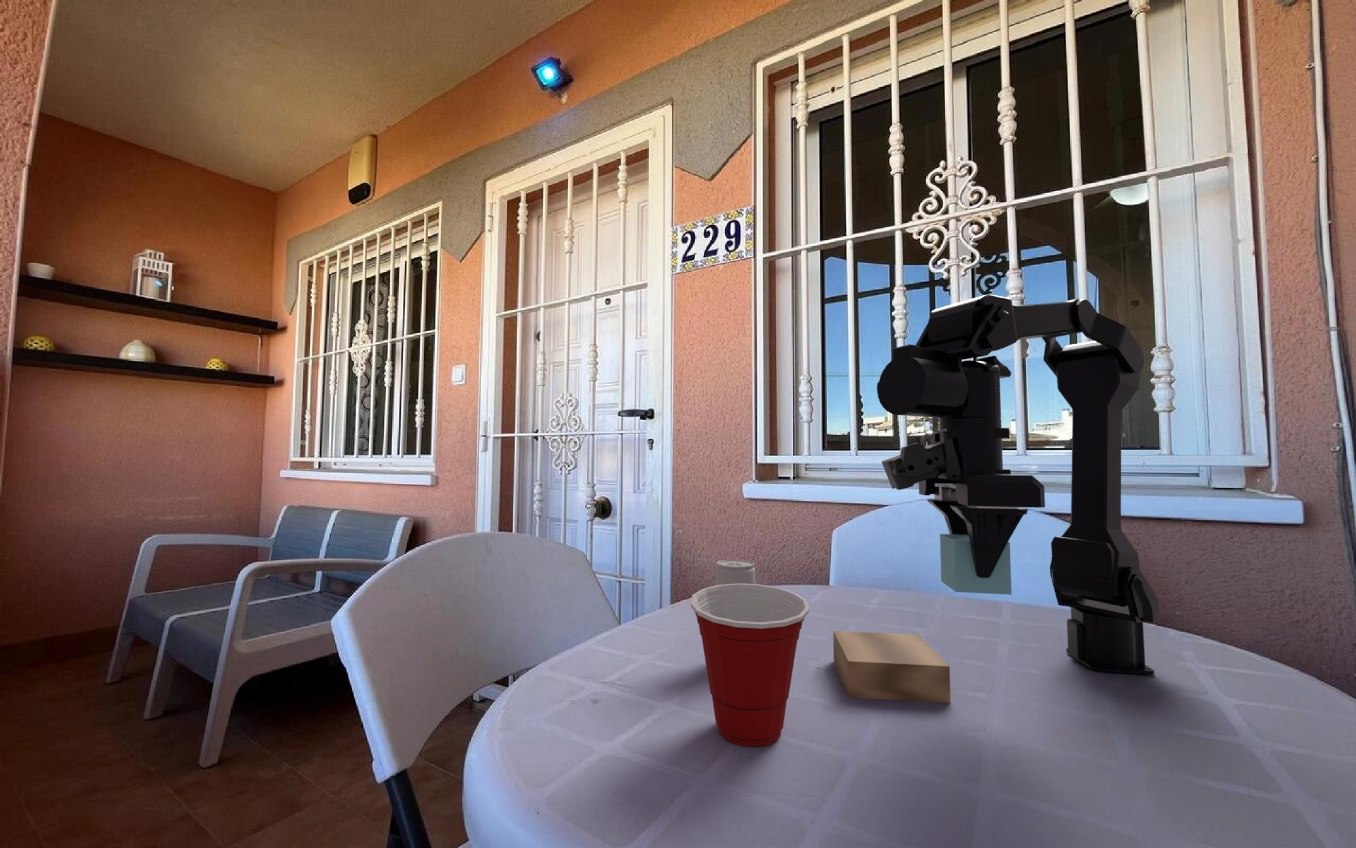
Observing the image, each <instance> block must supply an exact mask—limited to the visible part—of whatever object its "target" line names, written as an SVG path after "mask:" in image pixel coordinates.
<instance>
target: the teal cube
mask: <svg viewBox="0 0 1356 848" xmlns="http://www.w3.org/2000/svg"><path fill="white" fill-rule="evenodd" d="M939 545H940V547H939V548H940V549H939V551H940V553H939V554H940V580H941V583H942V584H944V585H945V586H947V587H948V588H950V589H951V590H952V591H954V593H955V592H956V593H971V594H988V595H989V594H991V595H1011V596H1012V574H1011V573H1012V572H1011V571H1012V569H1011V568H1012V567H1011V565H1012V564H1011V546H1010V545H1011V542H1010V541H1008V543H1007V545H1006V547H1005V549H1004V551H1003V553H1002V555H1001V557H1000V559H999V561H998V562H997V564H996V566H995V568H994V570H993V572H992V574H991V576H990V577H989V578H980V577H978V576H977V575H976V571H975V566H974V562H973V556H972V551H971V546H970V540H969V535H959V534H950V533H940V534H939Z"/></svg>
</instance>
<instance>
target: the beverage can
mask: <svg viewBox="0 0 1356 848" xmlns="http://www.w3.org/2000/svg"><path fill="white" fill-rule="evenodd" d="M738 583H739V584H756V568H755V563H754V561H750V560H745V559H723V560H719V561H717V562H716V566H715V586H717V585H725V584H738Z"/></svg>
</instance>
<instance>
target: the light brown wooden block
mask: <svg viewBox="0 0 1356 848" xmlns="http://www.w3.org/2000/svg"><path fill="white" fill-rule="evenodd" d="M832 632H833V635H832V636H833V663H834V666H835V669H836V670H837V673H838V675H839V678H840V680H841V682H842V684H843V687H844V688H845V689H844V690H845V691H846V693H847V695H848V698H857V699H873V700H874V699H875V700H893V701H907V700H910V701H909V702H925V703H926V702H928V703H944V704H945V703H947V704H951V676H950V675H951V674H950V673H951V672H950V671H951V669H950V665H949V664H948V663H947V662H946V661H945V660H944V659H943V658H942V656H940V655H939V654H938V653H937V652H936V651H935V650H934V648H933V647H932V646H931V645H929V643H928V642H927V641H926V640H925V639H924V638H923V637H922V636H921V635H920V634H916V633H915V634H913V633H912V634H911V633H910V634H909V633H908V634H907V633H893V632H892V633H890V632H889V633H886V632H869V631H868V632H865V631H844V630H843V631H841V630H839V631H838V630H833V631H832ZM911 700H913V701H911ZM916 700H917V701H916Z"/></svg>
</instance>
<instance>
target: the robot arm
mask: <svg viewBox="0 0 1356 848" xmlns="http://www.w3.org/2000/svg"><path fill="white" fill-rule="evenodd" d="M1080 333H1082V334H1083V336H1084V337H1086V338H1088V339H1089V340H1091V341H1086V342H1081V343H1076V344H1075V343H1073V344H1069V345H1066V346H1064V347H1062V345H1061V344H1060V343H1059V342H1058V341H1057V338H1059V337H1060V338H1061V337H1064V336H1070V335H1074V334H1075V335H1076V334H1080ZM1037 338H1039V339H1040V338H1041V339H1042V340H1043V341H1044V343H1045V345H1044V351H1043V362H1044V363H1045V364H1046V365H1047V366H1048V368H1049V369H1050V370H1051V371H1052V374H1054V376H1055V377H1056V383H1057V385H1056V386H1057V390H1058V392H1059V393H1060V395H1061V396H1062V397H1063V399H1064V400H1065V401H1066V403H1067V404H1068V405H1069V407H1070V408H1071V411H1072V416H1071V417H1072V421H1071V422H1072V428H1071V430H1072V432H1071V434H1072V436H1071V441H1072V442H1071V487H1070V489H1071V492H1070V493H1071V494H1070V495H1071V496H1070V497H1071V499H1070V501H1071V502H1070V525H1069V526H1068V527H1067V528H1066V530H1065V531H1064V532H1063V533H1062V535H1061V536H1054V537H1053V538H1052V541H1051V543H1050V546H1051V547H1050V548H1051V549H1050V550H1051V560H1050V565H1049V572H1050V573H1049V574H1050V578H1051V583H1052V586H1053V591H1054V594H1055V598H1056V601H1057V605H1058V606H1061V607H1069V608H1070V618H1068V619H1067V620H1066V628H1067V629H1066V632H1067V633H1066V635H1067V647H1066V648H1065V652H1066V653H1067V654H1068V655H1070V656H1071V657H1072V658H1074V659H1075V660H1077V661H1078V662H1080V663H1081V664H1083V665H1084V666H1085V667H1087V668H1088V669H1089V670H1092V671H1097V672H1098V671H1101V672H1111V673H1124V674H1125V673H1126V674H1127V673H1128V674H1129V673H1130V674H1138V675H1139V674H1140V675H1153V676H1154V675H1155V670H1154V669H1153V668H1152V667H1150V666H1148V665H1147V664H1146V652H1145V651H1146V650H1145V636H1144V635H1145V634H1144V623H1156V621H1157V617H1158V613H1159V598H1158V597H1157V595H1156V594H1155V592H1154V591H1153V589H1152V587H1151V585H1150V584H1149V582H1148V581H1147V579H1146V578H1145V576H1144V574H1143V572H1142V571H1141V570H1140V560H1139V554H1138V551H1137V550H1136V548H1135V547H1134V546H1133V545H1132V543H1131V542H1130V540H1129V539H1128V537H1127V536H1126V535H1125V533H1124V532H1123V530H1122V412H1123V409H1125V407H1126V406H1127V404H1128V403H1129V402H1130V401H1131V399H1132V398H1133V397H1134V395H1135V394H1136V393H1137V392H1138V390H1139V387H1140V376H1141V372H1142V370H1143V369H1144V363H1145V359H1144V357H1145V356H1144V352H1143V349H1142V348H1141V346H1140V344H1139V343H1138V342H1137V340H1136V339H1135V337H1134V336H1133V335H1132V333H1131V331H1130V330H1129V328H1128V327H1127V326H1126V325H1124V324H1122V323H1120V322H1119V321H1116V320H1114V319H1112V318H1109V317H1108V316H1105V315H1103V314H1100V313H1099V312H1097V310H1096V309H1095V307H1094V306H1093V304H1092V303H1091V302H1090V301H1089V300H1088V299H1084V298H1083V299H1079V298H1075V299H1071V300H1065V301H1060V302H1059V301H1055V302H1043V303H1041V302H1040V303H1031V304H1030V303H1028V304H1014V303H1013V299H1011V298H1009V297H1006V296H1000V295H996V294H991V293H990V294H985V295H982V296H978V297H974V298H970V299H967V300H963V301H961V302H956V303H953V304H950V305H946V306H942V307H940V308H939V307H938V308H936V309H933V310H932V311H931V312H930V314H929V318H928V322H927V324H926V325H925V327H924V329H923V331H922V333H921V335H920V336H919V338H918V340H917V342H916V344H910V343H909V344H905V345H900V346H896V347H894V348H893V349H892V360H890V361H889V362H888V363H887V364H886V366H885V367H884V368H883V370H882V372H881V374H880V377H879V380H878V382H877V384H876V394H877V398H878V401H879V403H880V405H881V406H882V408H883V410H885V411H886V412H888V413H889V414H892V415H895V416H907V417H922V418H923V417H924V418H937V419H938V428H939V429H935V430H933V433H931V434H930V435H931V437H930V439H931V444H928V445H926V446H924V445H923V444H922V443H920V442H919V441H918V442H914V443H912V444H909V445H905V446H902V447H901V448H900V454H899V455H896V456H893V457H890V458H888V459H885V460H882V461H881V464H882V466H883V469H884V472H885V475H886V477H887V479H888V481H889V485H890V487H891V489H893V490H894V489H896V490H897V491H900V490H905V489H908V488H911V487H914V485H915V484H917V483H918V494H919V495H921V496H928V497H929V496H931V495H934V498H927V499H926V500H927V503H929V504H930V505H932V506H933V508H935V509H936V510H937V511H938V512H940V513H941V515H942V516H943V518H944V520H945V522H946V523H945V524H946V525H947V529H948V532H949V533H948V534H959V535H969V540H970V546H971V551H972V556H973V562H974V566H975V571H976V575H977V576H978V577H980V578H989V577H990V576H991V574H992V572H993V570H994V568H995V566H996V564H997V562H998V561H999V559H1000V557H1001V555H1002V553H1003V551H1004V549H1005V547H1006V545H1007V543H1008V542H1010V539H1011V537H1012V536H1013V535H1014V532H1015V531H1016V528H1017V527H1018V526H1019V523H1021V520H1022V518H1023V517H1024V515H1025V516H1026V515H1028V510H1029V509H1028V508H1039V509H1040V508H1046V499H1045V498H1046V496H1045V485H1044V484H1043V483H1041V481H1039V480H1038V479H1037V478H1036V477H1035V476H1034V475H1032V474H1031V475H1030V474H1015V473H1014V474H1013V473H1011V471H1012V470H1011V469H1004V467H1003V466H1004V463H1003V461H1004V460H1003V440H1005V439H1010V427H1002V407H1001V406H1002V404H1001V401H1002V400H1001V379H1005V378H1010V377H1011V376H1012V371H1011V370H1010V369H1009V367H1008V366H1007V365H1005V364H1003V363H1002V362H1001V361H1000V360H999V358H998V357H997V356H996V355H990V353H992V352H996V351H999V350H1000V351H1001V350H1002V349H1005V348H1007V347H1009V346H1012V345H1014V344H1015V343H1017V342H1018V341H1021V340H1023V341H1024V340H1029V339H1037ZM988 355H989V356H988ZM971 359H972V360H971ZM973 359H975V360H973Z"/></svg>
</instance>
